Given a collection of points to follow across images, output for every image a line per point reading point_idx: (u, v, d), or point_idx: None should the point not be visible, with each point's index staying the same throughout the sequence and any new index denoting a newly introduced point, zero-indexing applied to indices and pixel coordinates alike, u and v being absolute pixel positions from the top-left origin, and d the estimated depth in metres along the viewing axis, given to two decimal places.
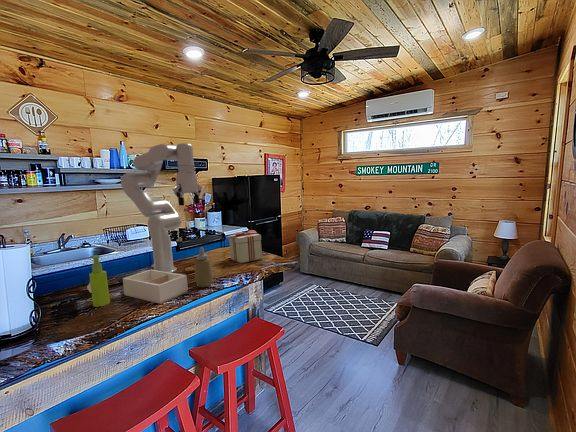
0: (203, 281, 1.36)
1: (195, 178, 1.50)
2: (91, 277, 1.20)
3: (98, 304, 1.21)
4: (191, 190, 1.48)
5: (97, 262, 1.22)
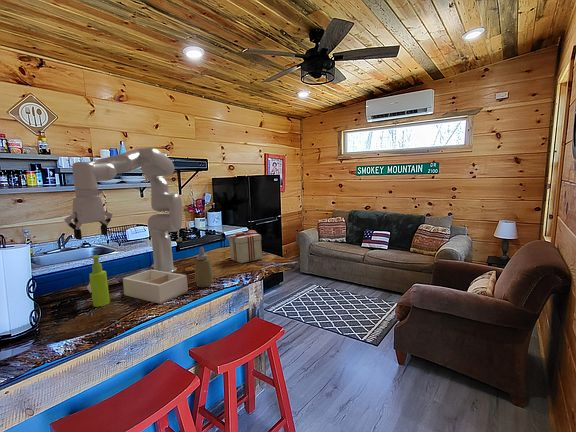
0: (203, 281, 1.36)
1: (100, 204, 1.21)
2: (91, 277, 1.20)
3: (98, 304, 1.21)
4: (93, 219, 1.19)
5: (97, 262, 1.22)
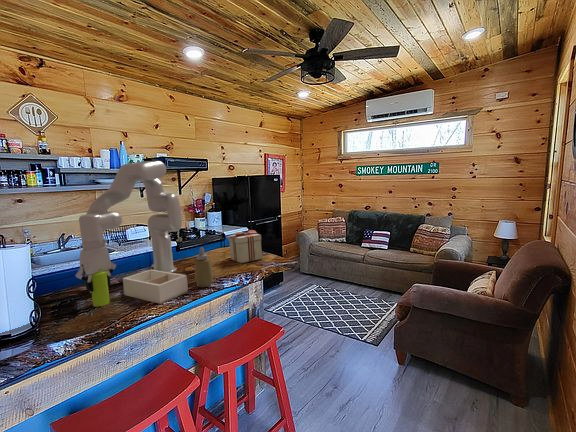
0: (203, 281, 1.36)
1: (106, 254, 1.24)
2: None
3: (98, 304, 1.21)
4: None
5: None
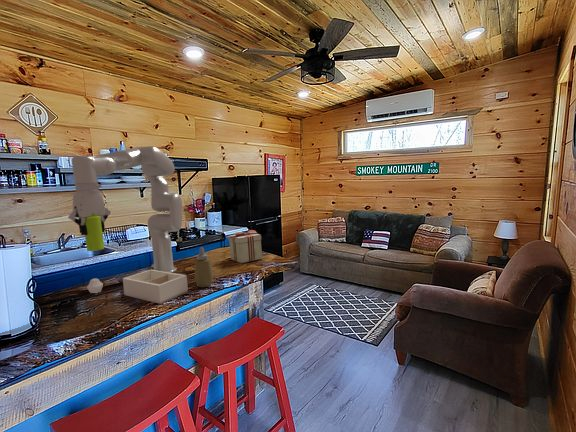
0: (203, 281, 1.36)
1: (100, 198, 1.21)
2: (85, 220, 1.17)
3: (92, 248, 1.19)
4: None
5: None
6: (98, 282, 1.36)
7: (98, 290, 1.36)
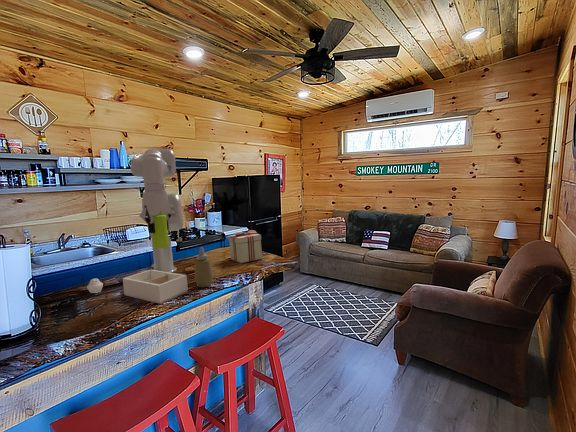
0: (203, 281, 1.36)
1: (166, 198, 1.27)
2: None
3: (159, 245, 1.24)
4: None
5: None
6: (98, 282, 1.36)
7: (98, 290, 1.36)
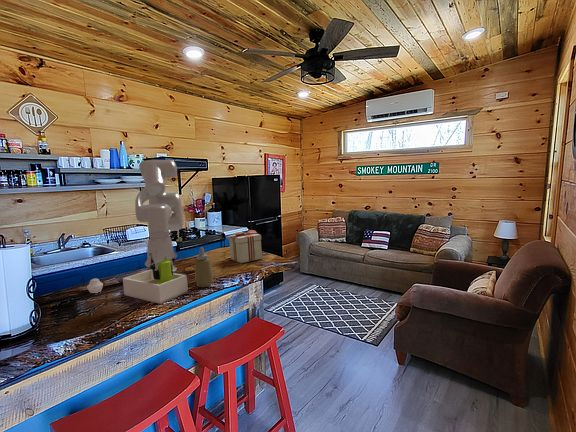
0: (203, 281, 1.36)
1: (170, 244, 1.29)
2: (158, 266, 1.26)
3: None
4: None
5: None
6: (98, 282, 1.36)
7: (98, 290, 1.36)
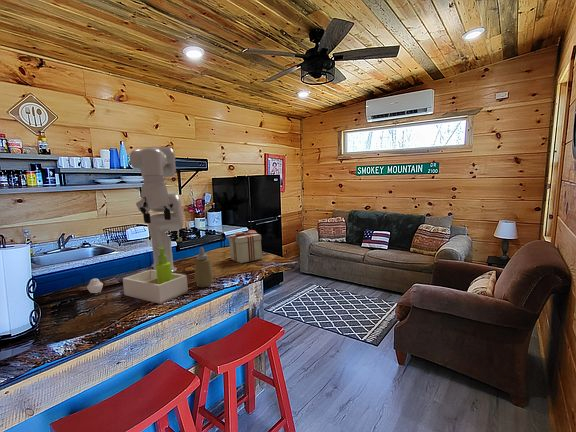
0: (203, 281, 1.36)
1: (165, 190, 1.27)
2: (158, 268, 1.26)
3: None
4: (160, 204, 1.25)
5: (163, 253, 1.28)
6: (98, 282, 1.36)
7: (98, 290, 1.36)
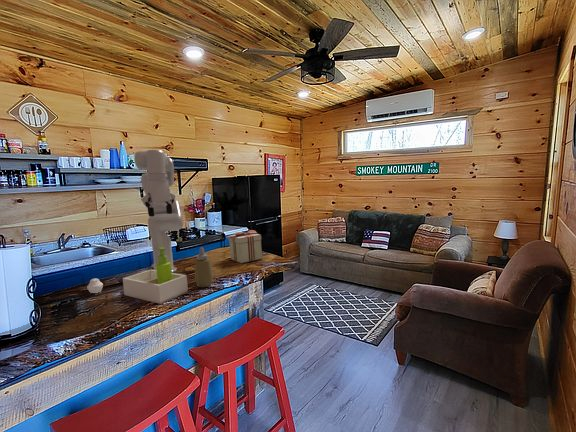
0: (203, 281, 1.36)
1: (167, 186, 1.40)
2: (158, 268, 1.26)
3: None
4: (162, 199, 1.38)
5: (163, 253, 1.28)
6: (98, 282, 1.36)
7: (98, 290, 1.36)
